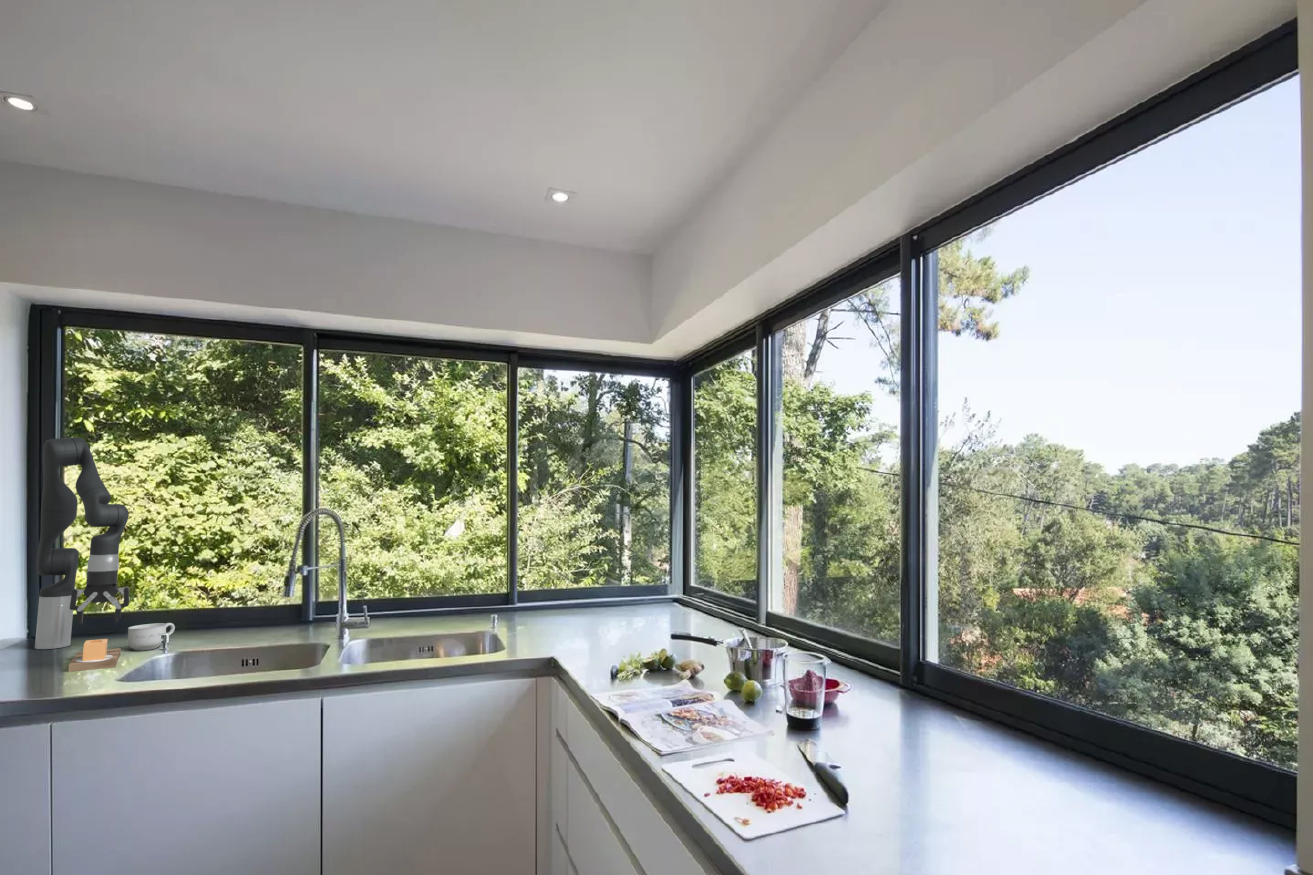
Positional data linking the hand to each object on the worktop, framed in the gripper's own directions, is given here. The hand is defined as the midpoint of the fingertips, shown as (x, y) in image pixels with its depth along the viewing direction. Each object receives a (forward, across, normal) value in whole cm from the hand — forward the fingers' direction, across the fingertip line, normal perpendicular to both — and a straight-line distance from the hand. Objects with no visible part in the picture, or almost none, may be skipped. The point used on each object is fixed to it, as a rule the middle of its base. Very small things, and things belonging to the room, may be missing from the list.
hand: (98, 622), depth 216 cm
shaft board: (+13, 0, +5) cm, 14 cm away
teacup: (+14, +13, +22) cm, 29 cm away
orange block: (+11, 0, 0) cm, 11 cm away
